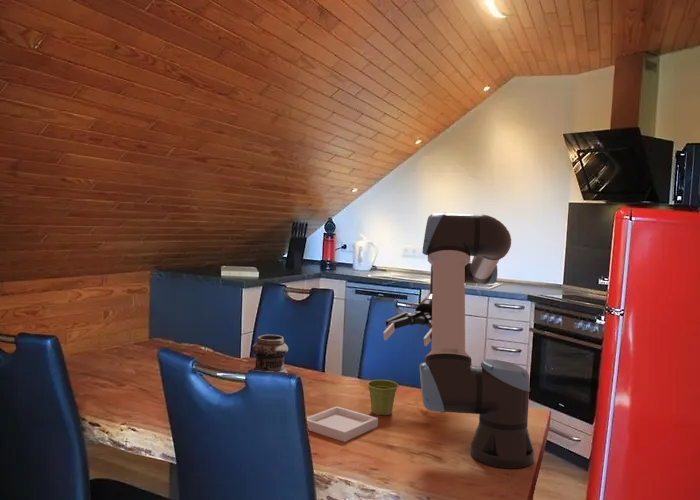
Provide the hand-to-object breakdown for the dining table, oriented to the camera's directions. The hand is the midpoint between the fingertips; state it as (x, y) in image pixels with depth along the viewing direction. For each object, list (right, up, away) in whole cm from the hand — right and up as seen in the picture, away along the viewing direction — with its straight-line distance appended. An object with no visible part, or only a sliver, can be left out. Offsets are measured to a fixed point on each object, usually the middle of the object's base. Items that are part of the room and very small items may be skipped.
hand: (404, 339), depth 178 cm
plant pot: (-7, -22, -3) cm, 23 cm away
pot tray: (-19, -22, -17) cm, 34 cm away
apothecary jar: (-44, -20, +16) cm, 51 cm away
